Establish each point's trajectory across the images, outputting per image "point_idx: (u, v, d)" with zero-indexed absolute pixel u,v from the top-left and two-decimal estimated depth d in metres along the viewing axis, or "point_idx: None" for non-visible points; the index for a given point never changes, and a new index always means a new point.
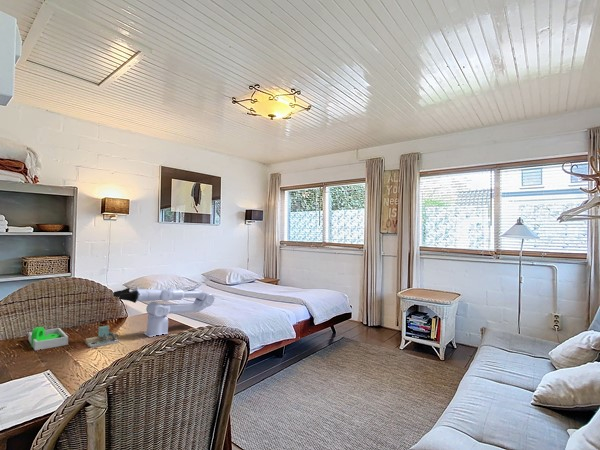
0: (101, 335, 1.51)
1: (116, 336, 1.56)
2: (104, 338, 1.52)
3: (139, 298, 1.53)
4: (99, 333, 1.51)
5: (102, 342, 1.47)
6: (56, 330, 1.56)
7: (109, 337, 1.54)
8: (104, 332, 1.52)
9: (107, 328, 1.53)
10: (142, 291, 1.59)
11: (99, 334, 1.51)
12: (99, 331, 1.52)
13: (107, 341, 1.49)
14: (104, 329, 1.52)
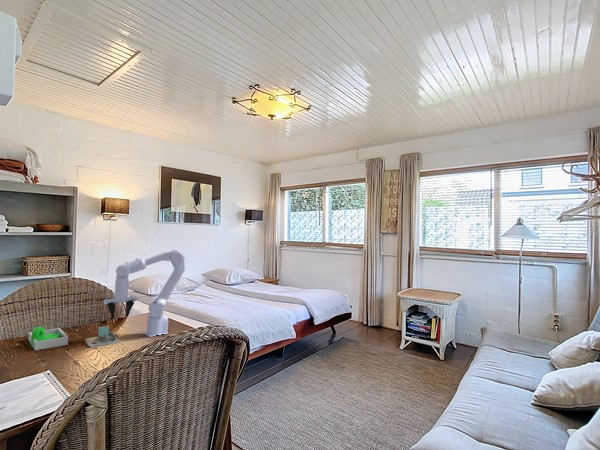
0: (101, 335, 1.51)
1: (116, 336, 1.56)
2: (104, 338, 1.52)
3: (104, 303, 1.53)
4: (99, 333, 1.51)
5: (102, 342, 1.47)
6: (56, 330, 1.56)
7: (109, 337, 1.54)
8: (104, 332, 1.52)
9: (107, 328, 1.53)
10: None
11: (99, 334, 1.51)
12: (99, 331, 1.52)
13: (107, 341, 1.49)
14: (104, 329, 1.52)
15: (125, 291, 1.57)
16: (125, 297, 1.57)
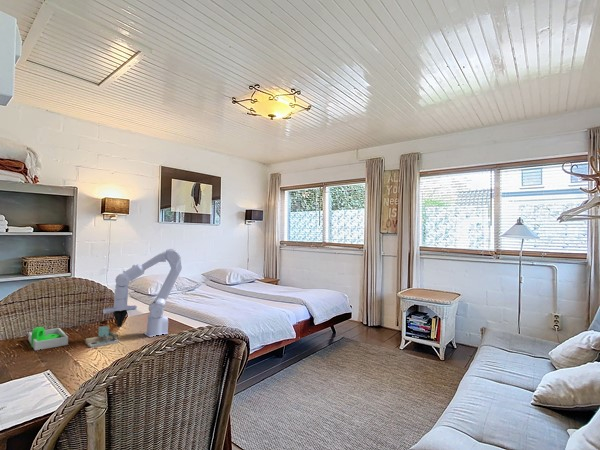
0: (101, 335, 1.51)
1: (116, 336, 1.56)
2: (104, 338, 1.52)
3: (103, 312, 1.52)
4: (99, 333, 1.51)
5: (102, 342, 1.47)
6: (56, 330, 1.56)
7: (109, 337, 1.54)
8: (104, 332, 1.52)
9: (107, 328, 1.53)
10: None
11: (99, 334, 1.51)
12: (99, 331, 1.52)
13: (107, 341, 1.49)
14: (104, 329, 1.52)
15: (124, 300, 1.57)
16: (124, 306, 1.57)
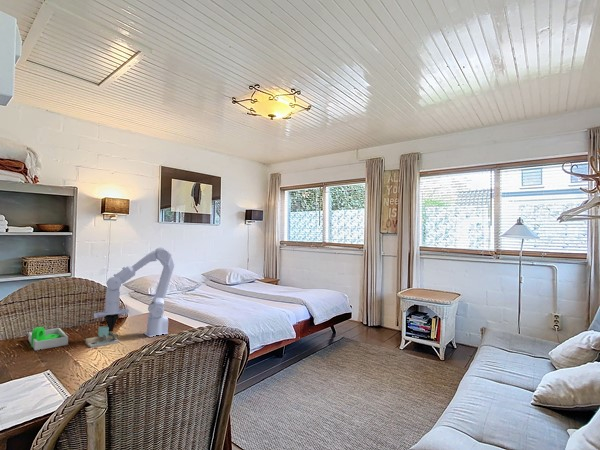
0: (101, 335, 1.51)
1: (116, 336, 1.56)
2: (104, 338, 1.52)
3: (94, 317, 1.50)
4: (99, 333, 1.51)
5: (102, 342, 1.47)
6: (56, 330, 1.56)
7: (109, 337, 1.54)
8: (104, 332, 1.52)
9: (107, 328, 1.53)
10: None
11: (99, 334, 1.51)
12: (98, 331, 1.52)
13: (107, 341, 1.49)
14: (104, 329, 1.52)
15: (116, 304, 1.54)
16: (116, 310, 1.54)
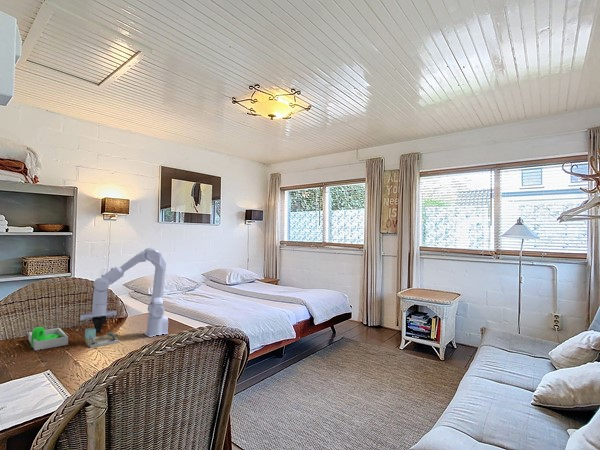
0: (87, 337, 1.47)
1: (116, 336, 1.56)
2: (104, 338, 1.52)
3: (81, 318, 1.46)
4: (85, 335, 1.47)
5: (102, 342, 1.47)
6: (56, 330, 1.56)
7: (109, 337, 1.54)
8: (91, 334, 1.48)
9: (94, 330, 1.49)
10: None
11: (85, 337, 1.47)
12: (85, 333, 1.48)
13: (107, 341, 1.49)
14: (91, 331, 1.48)
15: (103, 306, 1.50)
16: (103, 312, 1.50)
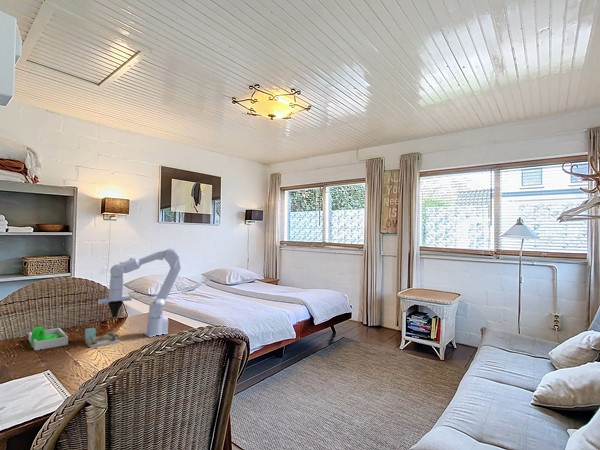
0: (87, 337, 1.47)
1: (116, 336, 1.56)
2: (104, 338, 1.52)
3: (98, 303, 1.53)
4: (85, 335, 1.47)
5: (102, 342, 1.47)
6: (56, 330, 1.56)
7: (109, 337, 1.54)
8: (91, 334, 1.48)
9: (94, 330, 1.49)
10: None
11: (85, 337, 1.47)
12: (85, 333, 1.48)
13: (107, 341, 1.49)
14: (91, 331, 1.48)
15: (119, 291, 1.57)
16: (119, 297, 1.57)
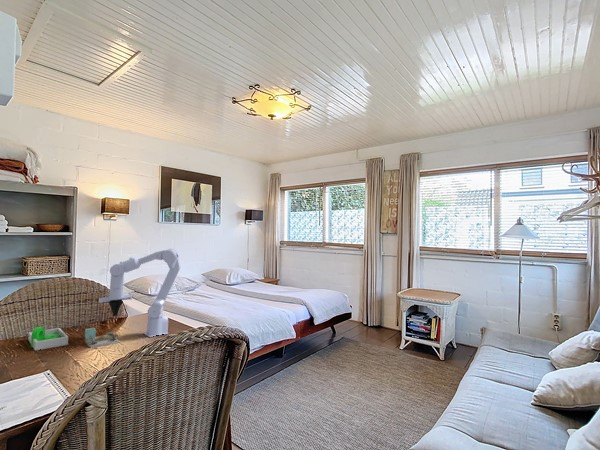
0: (87, 337, 1.47)
1: (116, 336, 1.56)
2: (104, 338, 1.52)
3: (99, 301, 1.55)
4: (85, 335, 1.47)
5: (102, 342, 1.47)
6: (56, 330, 1.56)
7: (109, 337, 1.54)
8: (91, 334, 1.48)
9: (94, 330, 1.49)
10: None
11: (85, 337, 1.47)
12: (85, 333, 1.48)
13: (107, 341, 1.49)
14: (91, 331, 1.48)
15: (120, 290, 1.60)
16: (120, 296, 1.60)
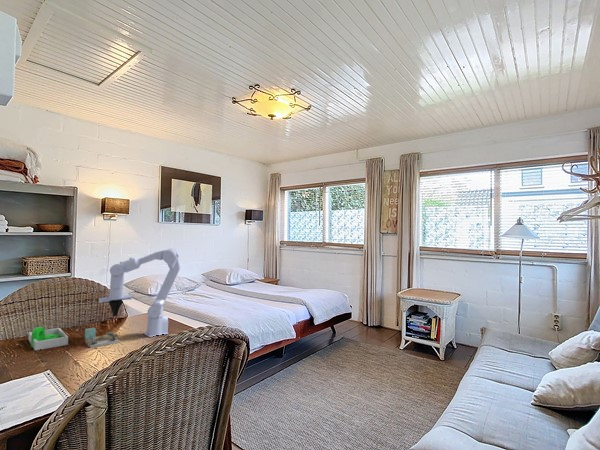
0: (87, 337, 1.47)
1: (116, 336, 1.56)
2: (104, 338, 1.52)
3: (99, 301, 1.55)
4: (85, 335, 1.47)
5: (102, 342, 1.47)
6: (56, 330, 1.56)
7: (109, 337, 1.54)
8: (91, 334, 1.48)
9: (94, 330, 1.49)
10: None
11: (85, 337, 1.47)
12: (85, 333, 1.48)
13: (107, 341, 1.49)
14: (91, 331, 1.48)
15: (120, 290, 1.60)
16: (120, 296, 1.60)
